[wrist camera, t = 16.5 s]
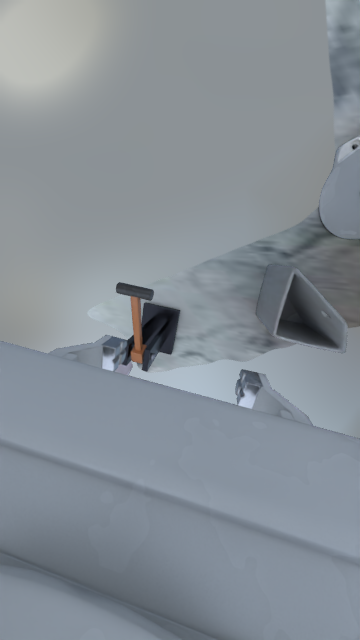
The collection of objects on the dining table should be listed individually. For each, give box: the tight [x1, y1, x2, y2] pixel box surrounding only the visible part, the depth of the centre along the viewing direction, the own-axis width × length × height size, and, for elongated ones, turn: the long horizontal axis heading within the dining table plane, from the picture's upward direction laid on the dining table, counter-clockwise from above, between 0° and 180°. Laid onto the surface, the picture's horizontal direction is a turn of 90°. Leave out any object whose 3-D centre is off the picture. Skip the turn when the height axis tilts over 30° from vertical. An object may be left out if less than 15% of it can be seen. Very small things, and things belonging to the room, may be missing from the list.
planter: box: [256, 265, 347, 353], centre depth 34 cm, size 16×8×19 cm, turn 36°
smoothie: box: [115, 361, 132, 375], centre depth 48 cm, size 6×6×14 cm
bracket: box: [122, 303, 180, 371], centre depth 42 cm, size 12×9×16 cm
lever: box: [116, 282, 154, 364], centre depth 32 cm, size 16×5×2 cm, turn 170°
